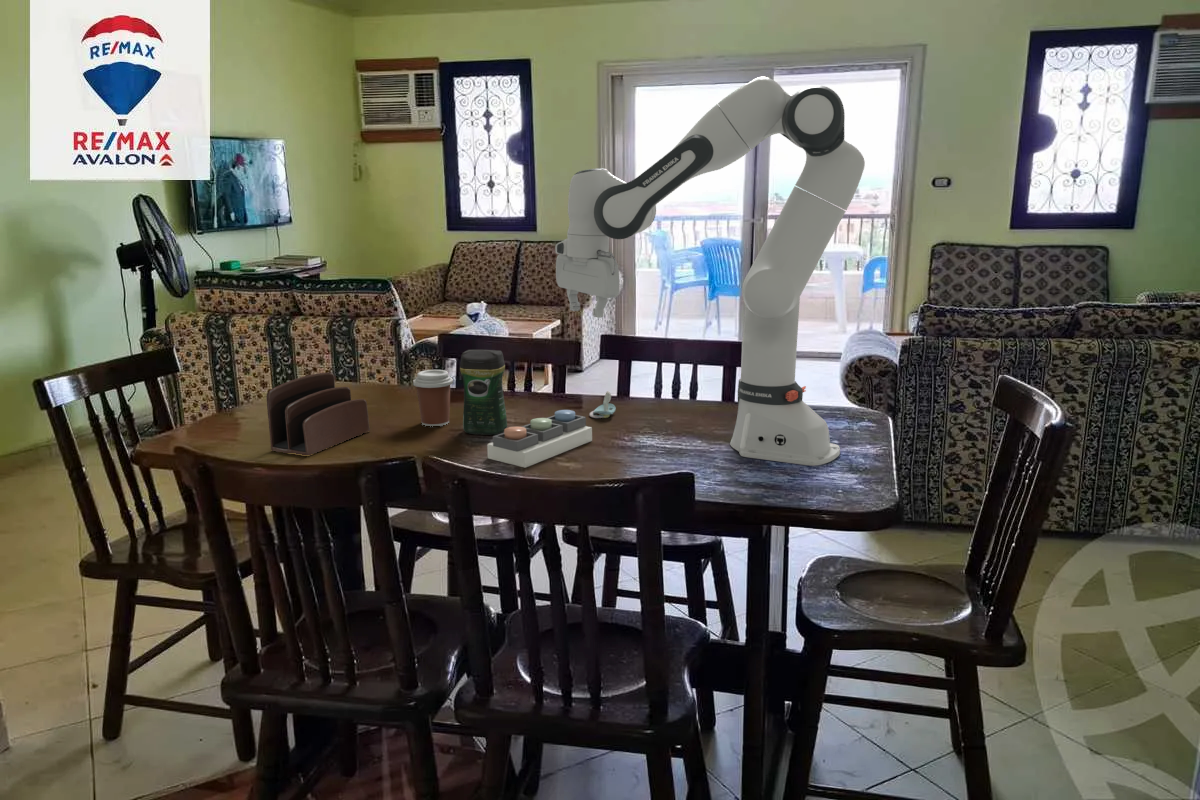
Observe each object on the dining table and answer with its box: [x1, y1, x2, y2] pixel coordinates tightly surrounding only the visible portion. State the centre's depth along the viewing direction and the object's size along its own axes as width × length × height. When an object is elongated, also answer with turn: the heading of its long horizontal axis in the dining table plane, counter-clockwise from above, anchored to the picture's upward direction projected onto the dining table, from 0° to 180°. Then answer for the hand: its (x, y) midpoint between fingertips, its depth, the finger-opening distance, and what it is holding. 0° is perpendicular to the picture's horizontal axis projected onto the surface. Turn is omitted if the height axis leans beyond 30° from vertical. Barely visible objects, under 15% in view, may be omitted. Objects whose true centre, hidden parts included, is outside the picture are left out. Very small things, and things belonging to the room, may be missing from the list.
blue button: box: [554, 409, 576, 422], centre depth 181 cm, size 4×4×2 cm
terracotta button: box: [503, 426, 527, 440], centre depth 168 cm, size 4×4×2 cm
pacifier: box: [589, 390, 616, 419], centre depth 201 cm, size 7×6×6 cm
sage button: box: [529, 417, 552, 431], centre depth 174 cm, size 4×4×2 cm
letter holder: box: [266, 372, 371, 456], centre depth 180 cm, size 10×20×14 cm, turn 156°
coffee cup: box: [412, 369, 454, 428], centre depth 194 cm, size 9×9×12 cm
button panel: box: [487, 414, 593, 468], centre depth 175 cm, size 10×22×5 cm, turn 144°
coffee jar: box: [459, 349, 508, 436], centre depth 187 cm, size 10×8×19 cm
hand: (586, 313), depth 180 cm, fingers open, 8 cm apart
